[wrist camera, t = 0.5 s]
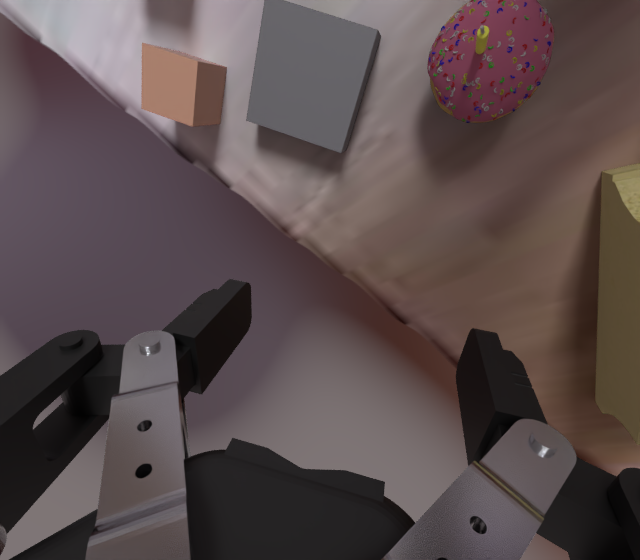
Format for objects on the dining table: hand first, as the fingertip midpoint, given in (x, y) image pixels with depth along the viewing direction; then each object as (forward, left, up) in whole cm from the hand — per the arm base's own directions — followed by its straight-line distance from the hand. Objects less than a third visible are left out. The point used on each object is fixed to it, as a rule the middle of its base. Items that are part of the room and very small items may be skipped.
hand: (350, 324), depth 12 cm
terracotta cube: (-2, -23, -27) cm, 35 cm away
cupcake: (-11, +3, -27) cm, 30 cm away
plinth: (-6, -11, -27) cm, 30 cm away
